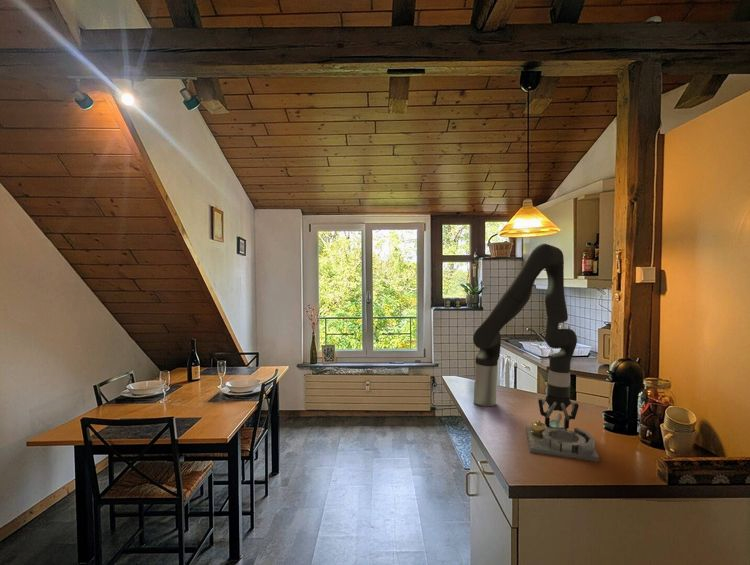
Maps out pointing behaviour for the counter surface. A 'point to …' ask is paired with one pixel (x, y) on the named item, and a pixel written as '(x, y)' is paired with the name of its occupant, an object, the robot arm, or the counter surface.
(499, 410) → the counter surface
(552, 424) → the pacifier
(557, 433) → the grey ring holder
